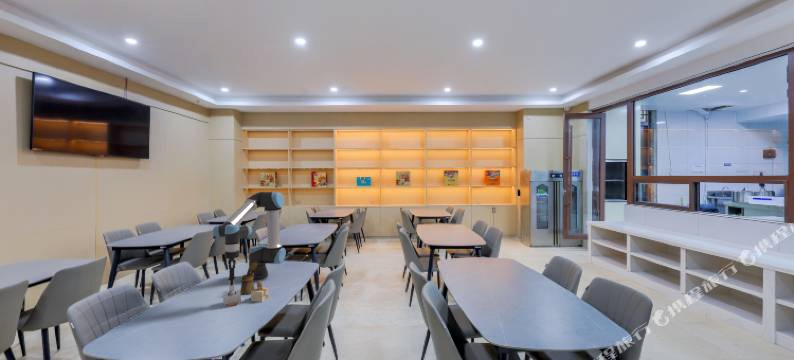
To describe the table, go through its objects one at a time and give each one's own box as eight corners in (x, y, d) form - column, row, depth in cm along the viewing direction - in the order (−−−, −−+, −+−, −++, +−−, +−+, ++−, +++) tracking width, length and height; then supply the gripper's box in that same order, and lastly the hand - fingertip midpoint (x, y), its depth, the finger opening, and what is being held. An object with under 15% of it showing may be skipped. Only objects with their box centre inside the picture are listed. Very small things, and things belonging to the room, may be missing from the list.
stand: (257, 296, 193) (257, 279, 193) (268, 297, 192) (268, 279, 192) (251, 301, 186) (251, 283, 186) (262, 301, 185) (262, 283, 185)
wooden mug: (262, 287, 208) (261, 261, 208) (249, 295, 195) (248, 267, 195) (250, 287, 210) (250, 261, 210) (236, 294, 197) (236, 266, 196)
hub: (230, 300, 186) (230, 287, 186) (241, 301, 186) (241, 288, 186) (222, 305, 179) (222, 292, 179) (233, 306, 179) (233, 292, 178)
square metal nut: (223, 299, 184) (223, 292, 184) (240, 296, 189) (240, 289, 189) (223, 304, 176) (223, 297, 176) (240, 301, 181) (240, 294, 181)
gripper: (224, 249, 186) (224, 287, 186) (224, 253, 175) (224, 294, 175) (238, 247, 190) (238, 285, 190) (239, 252, 178) (239, 292, 178)
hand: (231, 290), depth 182 cm, fingers closed
